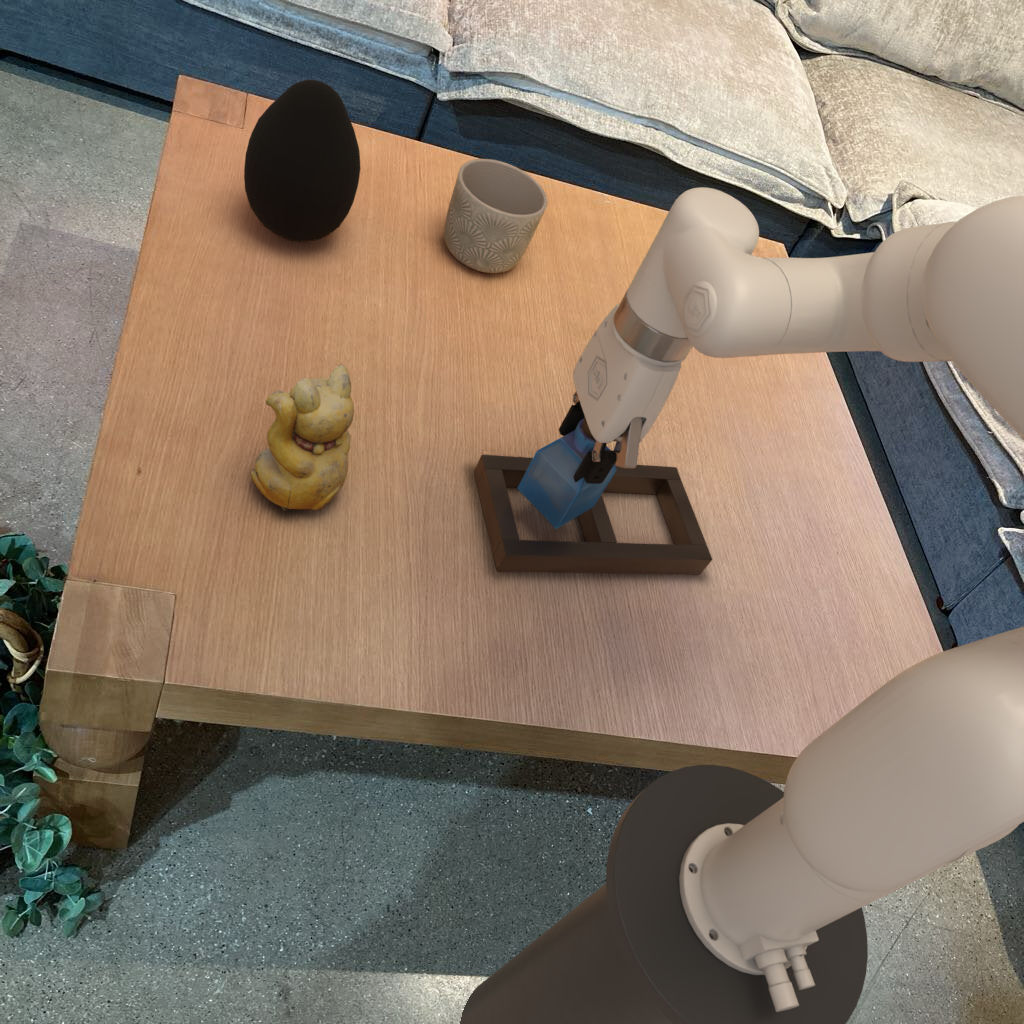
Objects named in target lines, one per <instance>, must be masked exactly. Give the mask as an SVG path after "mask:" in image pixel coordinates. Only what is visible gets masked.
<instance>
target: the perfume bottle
mask: <svg viewBox="0 0 1024 1024" xmlns="http://www.w3.org/2000/svg"><path fill="white" fill-rule="evenodd" d="M595 443H596V440H595V439H594V437H593V436H592V434H591V432H590V429H589V427H588V424H587V421H586V418H585V416H584V419H582V420H581V421H580V422H579V424H578V426H577V427H576V430H575V431H573V432H571V433H569V434H567V435H565V436H561V437H559V438H557V439H555V440H553V441H551V442H550V443H548V444H546V445H544V446H543V447H541V448H539V449H537V450H536V452H535V453H534V456H533V457H532V458H533V459H532V461H531V463H530V465H529V467H528V469H527V471H526V473H525V475H524V477H523V479H522V480H521V482H520V484H519V486H518V487H516V489H517V490H518V491H519V492H520V493H521V494H522V495H523V496H524V498H525V499H527V500H528V501H529V503H530V504H531V505H532V506H533V507H534V508H535V509H536V510H537V511H538V512H539V513H540V514H541V515H542V516H543V517H544V518H545V519H546V520H547V522H548V523H549V524H551V526H552V527H553V528H554V529H555V530H558V529H559V528H561V527H563V526H565V525H566V524H568V523H569V522H571V521H573V520H574V519H576V518H579V517H578V516H579V515H581V514H583V513H584V512H586V511H588V510H589V509H591V508H593V507H594V505H595V504H596V502H597V501H598V499H599V497H600V496H601V494H602V495H603V493H604V492H603V491H604V490H605V488H606V486H607V485H608V483H609V482H610V480H611V478H612V477H613V475H614V474H615V472H616V466H615V465H614V466H613V467H612V469H611V470H610V472H609V473H608V475H607V477H606V478H605V480H604V481H603V482H602V483H601V484H590V483H586V481H585V480H584V478H582V479H580V480H579V481H577V482H575V481H574V478H573V476H574V475H575V473H576V471H577V469H578V467H579V466H580V464H581V462H582V461H583V459H584V457H585V456H586V454H587V453H588V452H593V449H594V446H595ZM605 450H611V449H610V448H609V447H608V446H607V445H606V447H605Z"/></svg>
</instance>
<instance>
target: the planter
mask: <svg viewBox="0 0 1024 1024" xmlns="http://www.w3.org/2000/svg"><path fill="white" fill-rule="evenodd" d="M454 183H455V184H454V186H453V190H452V193H451V196H450V201H449V204H448V208H447V211H446V215H445V216H446V217H445V221H444V228H443V233H444V234H443V237H444V242H445V245H446V247H447V249H448V251H449V252H450V253H451V254H452V256H453V257H454V258H455V259H456V260H457V261H459V262H460V263H461V264H463V265H464V266H466V267H468V268H469V269H472V270H475V271H477V272H481V273H486V274H501V273H505V272H508V271H509V270H511V269H513V268H514V267H515V266H516V265H517V264H518V263H520V261H521V260H522V257H523V256H524V255H525V253H526V252H527V249H528V248H529V245H530V243H531V241H532V239H533V237H534V235H535V234H536V231H537V229H538V227H539V224H540V222H541V220H542V218H543V215H544V213H545V212H546V210H547V206H548V197H547V194H546V192H545V190H544V188H543V186H542V185H541V184H540V183H539V182H538V181H537V180H536V179H535V178H533V177H532V176H531V175H530V174H528V173H527V172H526V171H524V170H522V169H521V168H519V167H516V166H515V165H512V164H510V163H507V162H504V161H501V160H497V159H491V158H476V159H470V160H468V161H466V162H464V163H463V164H462V165H461V166H460V167H459V170H458V173H457V176H456V180H455V182H454Z"/></svg>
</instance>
